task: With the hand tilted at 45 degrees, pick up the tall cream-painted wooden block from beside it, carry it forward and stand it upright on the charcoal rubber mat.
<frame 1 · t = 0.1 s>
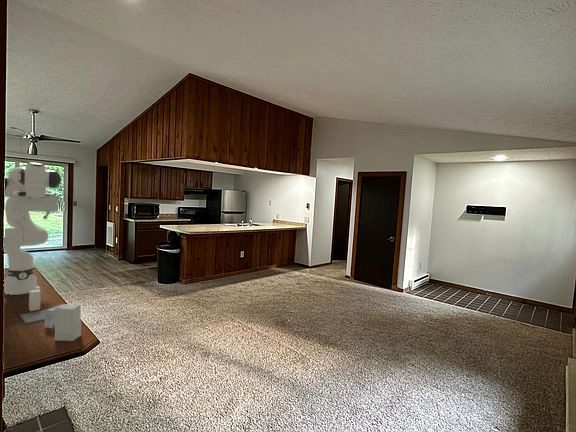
hand: (34, 219, 167), 48 cm above the counter, tool pointing down, fingers open, 8 cm apart
medicine box: (56, 325, 151), on the counter
cream block: (34, 309, 167), on the counter
skincare box: (67, 338, 140), on the counter
mat: (40, 316, 159), on the counter
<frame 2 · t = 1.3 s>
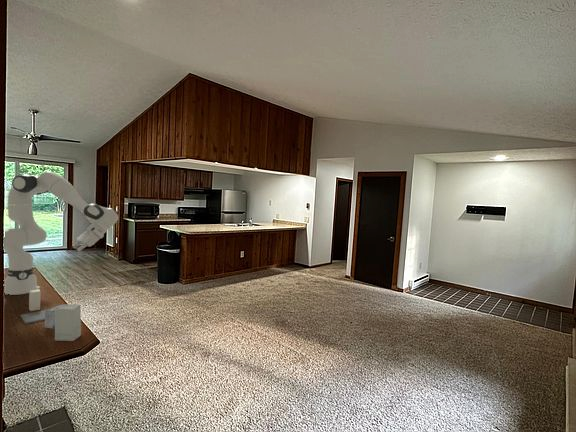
hand: (75, 249, 178), 31 cm above the counter, tool tilted 45°, fingers open, 8 cm apart
nothing on the counter moved.
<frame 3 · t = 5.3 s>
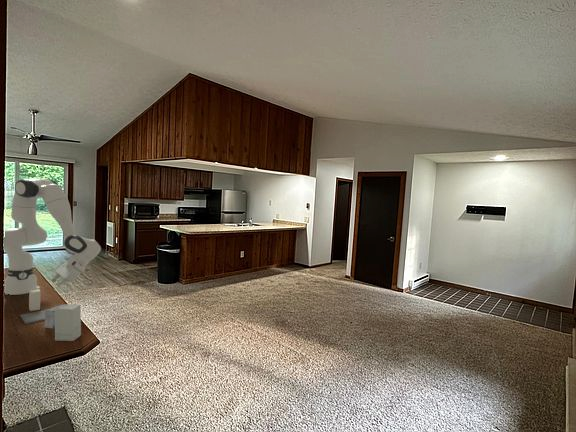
hand: (54, 283, 173), 12 cm above the counter, tool tilted 45°, fingers open, 8 cm apart
nothing on the counter moved.
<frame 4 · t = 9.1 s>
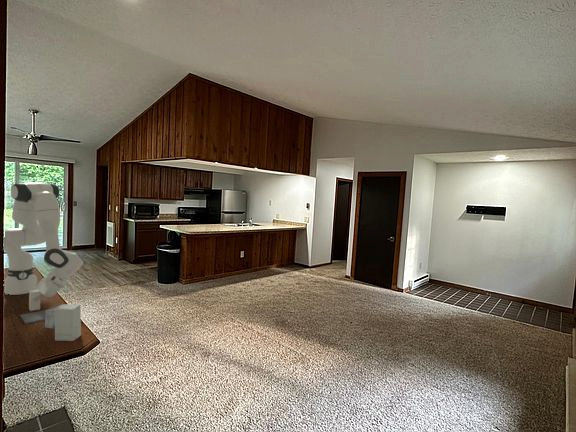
hand: (33, 299, 166), 5 cm above the counter, tool tilted 45°, fingers closed on cream block, 4 cm apart
cream block: (34, 309, 167), on the counter, touching gripper
everything else where it was.
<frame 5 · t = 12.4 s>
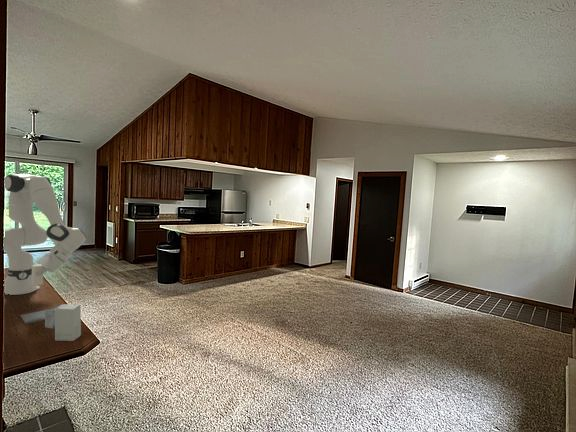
hand: (35, 274, 163), 20 cm above the counter, tool tilted 45°, fingers closed on cream block, 4 cm apart
cream block: (37, 284, 164), point 15 cm above the counter, touching gripper
everything else where it was.
when the fingers open (8 cm above the counter, at t = 16.1 s): cream block drops 1 cm, resting on mat.
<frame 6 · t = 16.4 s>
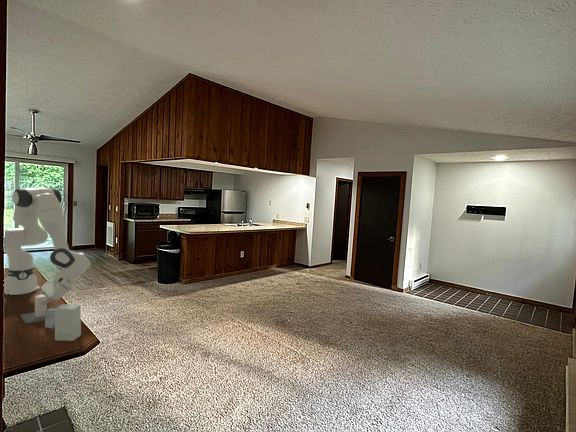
hand: (39, 302, 157), 8 cm above the counter, tool tilted 45°, fingers open, 7 cm apart
cream block: (40, 315, 158), point 1 cm above the counter, touching mat
everything else where it was.
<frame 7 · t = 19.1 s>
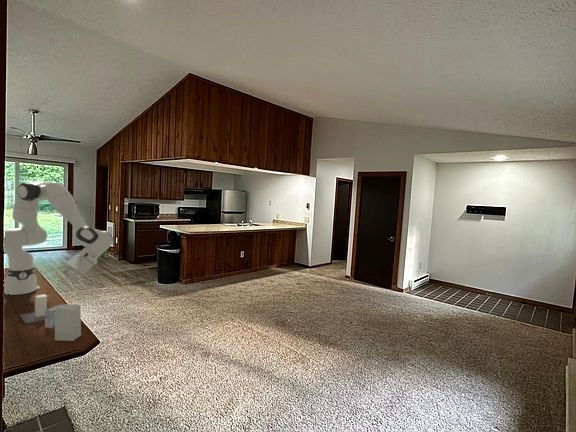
hand: (66, 275, 167), 19 cm above the counter, tool tilted 45°, fingers open, 8 cm apart
nothing on the counter moved.
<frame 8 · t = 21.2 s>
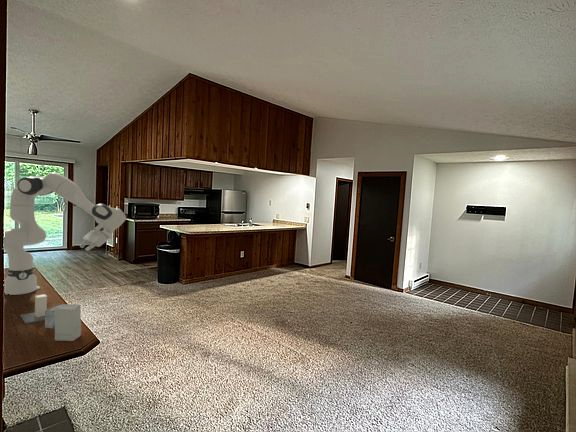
hand: (83, 248, 180), 31 cm above the counter, tool tilted 45°, fingers open, 8 cm apart
nothing on the counter moved.
at the end: cream block inside the target area on the mat (0.1 cm from its centre), point 0.8 cm above the mat's base; cream block tilted 0°; the gripper is holding nothing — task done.
